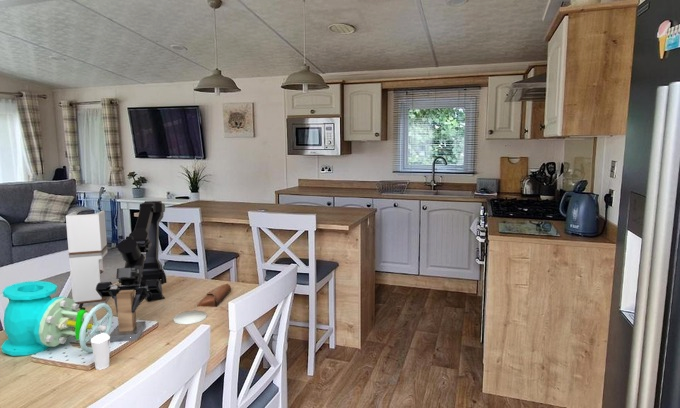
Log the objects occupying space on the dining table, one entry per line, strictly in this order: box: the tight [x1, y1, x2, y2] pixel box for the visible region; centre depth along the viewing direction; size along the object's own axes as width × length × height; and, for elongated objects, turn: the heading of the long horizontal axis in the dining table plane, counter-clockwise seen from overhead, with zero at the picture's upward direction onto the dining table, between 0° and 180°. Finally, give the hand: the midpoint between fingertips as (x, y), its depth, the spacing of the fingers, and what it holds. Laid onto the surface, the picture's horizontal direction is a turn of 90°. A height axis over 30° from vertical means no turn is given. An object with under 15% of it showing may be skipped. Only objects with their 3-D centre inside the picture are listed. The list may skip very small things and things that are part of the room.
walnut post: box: [116, 290, 137, 331], centre depth 131 cm, size 4×4×12 cm
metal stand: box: [108, 320, 147, 343], centre depth 132 cm, size 10×8×2 cm
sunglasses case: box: [196, 283, 232, 308], centre depth 164 cm, size 18×7×7 cm
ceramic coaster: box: [173, 310, 208, 326], centre depth 145 cm, size 11×11×1 cm
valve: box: [0, 280, 114, 357], centre depth 122 cm, size 14×18×30 cm
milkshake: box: [87, 331, 111, 371], centre depth 111 cm, size 4×5×10 cm
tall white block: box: [65, 210, 110, 307], centre depth 160 cm, size 11×11×35 cm
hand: (125, 312), depth 130 cm, fingers closed on walnut post, 4 cm apart
